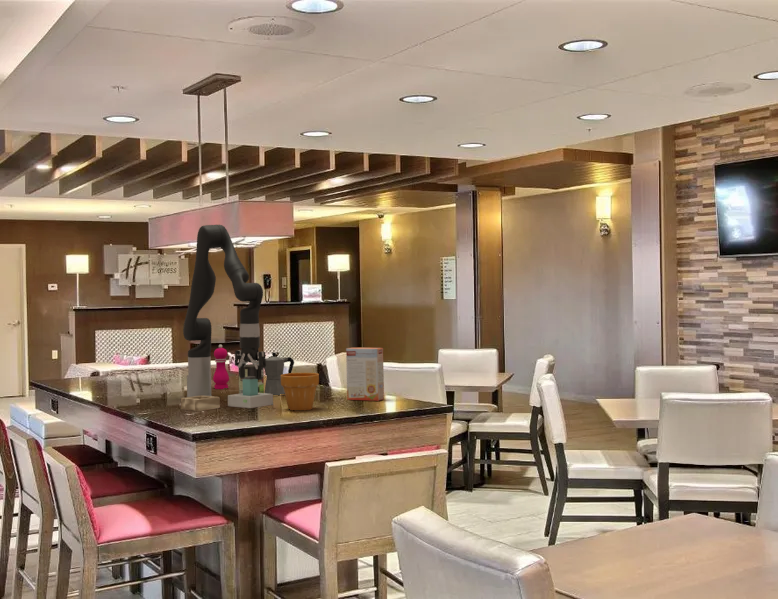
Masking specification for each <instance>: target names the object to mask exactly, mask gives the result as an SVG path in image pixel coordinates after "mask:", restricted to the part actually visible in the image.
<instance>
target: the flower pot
mask: <svg viewBox="0 0 778 599" xmlns="http://www.w3.org/2000/svg"><path fill="white" fill-rule="evenodd" d="M319 383H320V374H319V373H318V372H291V373H288V372H287V373H283V374H282V375H281V385H282V386H283V387H284V392H285V395H284V396H285V400H286V404H287V408H288V410H289V409H290V410H289V411H293V410H304V411H310V410H312V409H313V407H314V401H315V396H316V391H317V386H318V385H319Z"/></svg>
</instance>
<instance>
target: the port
mask: <svg viewBox="0 0 778 599" xmlns="http://www.w3.org/2000/svg"><path fill="white" fill-rule="evenodd" d="M269 406H274V396H273V394H267V393H258V395H253V396H246V395H243V393H241V394H239V393H234V394H230V395H229V394H228V395H227V407H232V408H244V409H254V408H261V407H269Z"/></svg>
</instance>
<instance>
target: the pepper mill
mask: <svg viewBox="0 0 778 599" xmlns="http://www.w3.org/2000/svg"><path fill="white" fill-rule="evenodd" d="M213 356H214V358H215V359H214V360H215V361H214V362H215V363H216V364H215V365H216V367H215V370H214V373H213V377H212V381H213V382H214V385H213V389H214V388H215V389H214V390H225V389H224V388H228V389H229V384H228V383H229V381H230V376H229V373H228V371H227V368H226V363H227V356H228V351H227V349H226V348H224V347H223V345H222V344H219V345H218V348H216V349H215V350H214V352H213Z"/></svg>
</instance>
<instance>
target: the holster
mask: <svg viewBox="0 0 778 599" xmlns="http://www.w3.org/2000/svg"><path fill="white" fill-rule="evenodd" d="M220 401H221V398H220V396H213V395H211V396H203V395H201V396H193V397H187V396H186V397H180V410H186V411H194V412H195V411H196V412H201V411H208V410H215V409H220V407H221V402H220Z"/></svg>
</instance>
